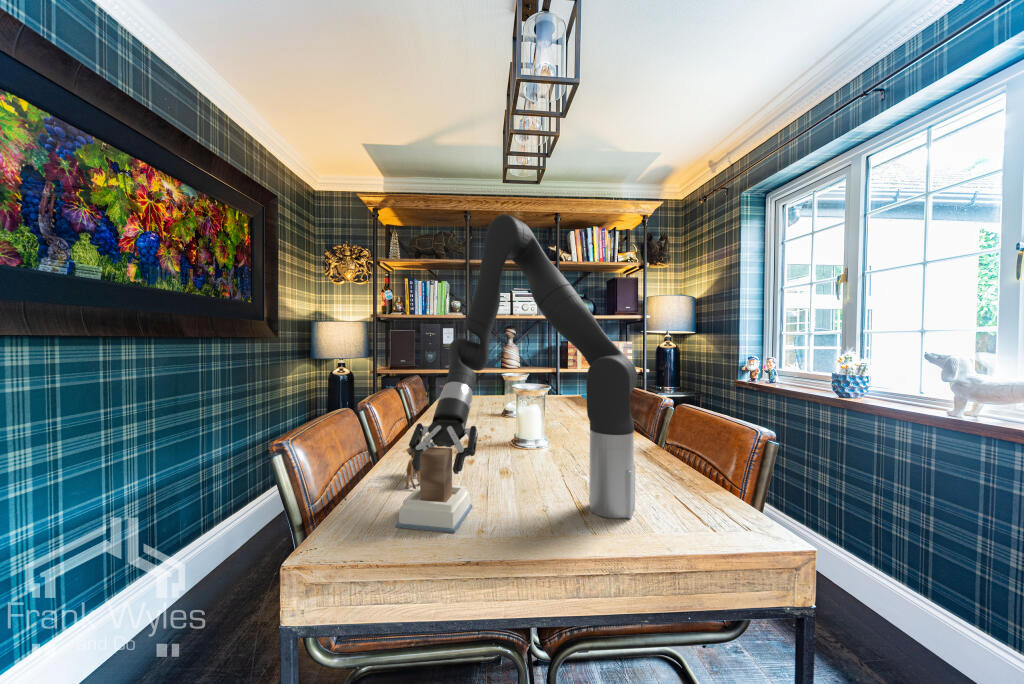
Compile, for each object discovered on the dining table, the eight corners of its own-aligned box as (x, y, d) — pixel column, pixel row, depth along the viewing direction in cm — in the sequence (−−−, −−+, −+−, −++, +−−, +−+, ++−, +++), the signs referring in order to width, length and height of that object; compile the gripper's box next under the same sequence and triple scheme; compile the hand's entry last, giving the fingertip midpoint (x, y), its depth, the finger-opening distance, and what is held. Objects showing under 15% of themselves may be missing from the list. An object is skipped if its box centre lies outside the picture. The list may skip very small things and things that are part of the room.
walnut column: (451, 495, 86) (452, 448, 86) (443, 504, 82) (444, 454, 81) (429, 493, 87) (429, 447, 87) (420, 502, 82) (420, 453, 82)
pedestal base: (472, 507, 89) (472, 485, 89) (454, 532, 77) (454, 507, 77) (420, 502, 91) (420, 481, 91) (395, 527, 80) (395, 502, 80)
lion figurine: (406, 472, 112) (406, 439, 112) (426, 471, 113) (426, 438, 113) (404, 492, 98) (404, 454, 98) (427, 490, 99) (427, 453, 99)
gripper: (420, 395, 94) (397, 459, 82) (480, 397, 91) (465, 464, 80) (429, 414, 99) (408, 477, 88) (486, 416, 96) (472, 481, 85)
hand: (435, 470), depth 84 cm, fingers open, 8 cm apart
